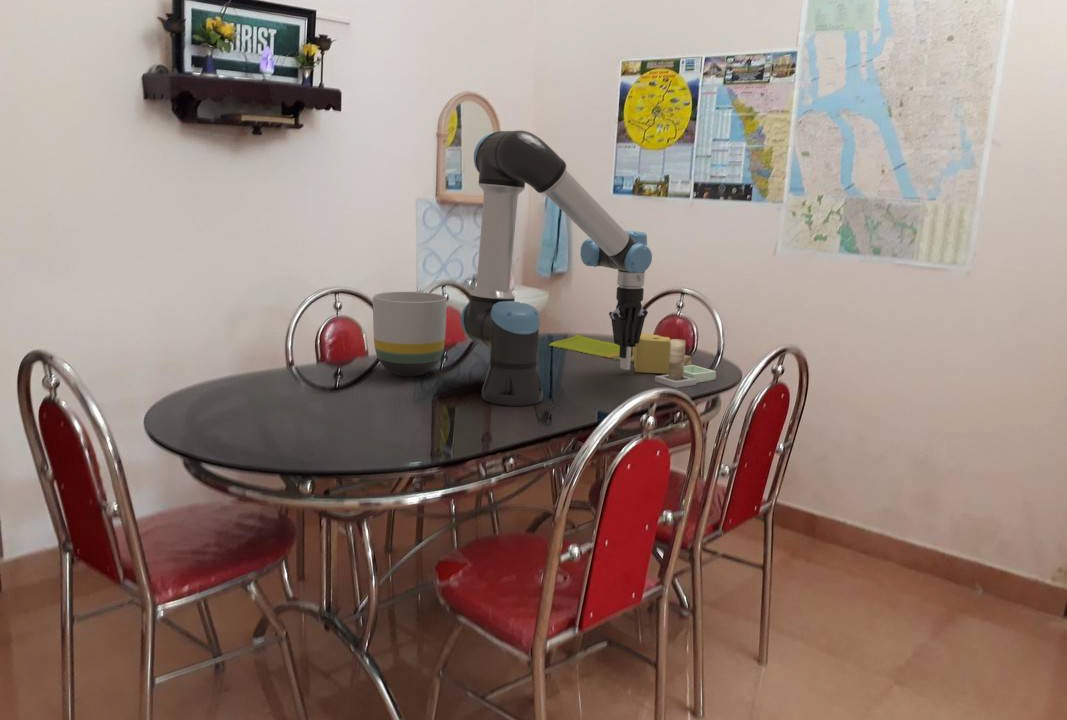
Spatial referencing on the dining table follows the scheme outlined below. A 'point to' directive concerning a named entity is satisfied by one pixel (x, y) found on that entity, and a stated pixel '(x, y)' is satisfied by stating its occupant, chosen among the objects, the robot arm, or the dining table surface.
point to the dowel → (676, 359)
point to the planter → (409, 331)
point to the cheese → (652, 354)
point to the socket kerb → (679, 383)
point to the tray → (699, 373)
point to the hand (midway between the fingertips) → (624, 368)
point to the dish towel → (590, 347)
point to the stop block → (687, 360)
